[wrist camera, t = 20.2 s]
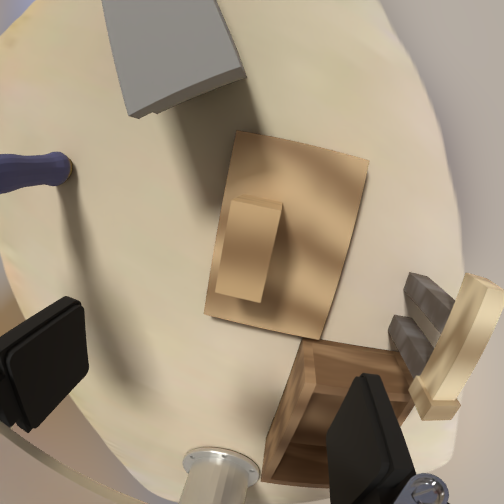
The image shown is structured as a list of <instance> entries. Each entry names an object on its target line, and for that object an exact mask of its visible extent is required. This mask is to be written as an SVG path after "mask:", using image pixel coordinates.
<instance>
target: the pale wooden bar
mask: <svg viewBox="0 0 504 504" xmlns="http://www.w3.org/2000/svg"><path fill="white" fill-rule="evenodd" d="M503 308H504V290H503V289H502V288H500V287H499V286H497V285H496V284H494V283H493V282H491V281H490V280H488V279H487V278H483V277H480V276H476V275H473V274H469V273H465V276H464V279H463V282H462V285H461V287H460V290H459V293H458V295H457V298H456V300H455V303H454V305H453V308H452V310H451V313H450V315H449V318H448V320H447V322H446V324H445V327H444V329H443V331H442V333H441V336H440V338H439V340H438V342H437V344H436V346H435V348H434V350H433V352H432V354H431V356H430V358H429V360H428V362H427V364H426V366H425V368H424V370H423V371H422V373H421V375H420V376H417V375H416V377H415V379H414V380H413V382H412V384H411V386H410V387H409V389H408V390H409V393H410V395H411V397H412V399H413V402H414V404H415V406H416V408H417V411H418V413H419V415H420V418H421V420H422V421H430V420H451V419H452V418H453V416H454V415H455V413H456V412H457V411H458V409H459V408H460V406H461V405H460V403H459V401H458V400H457V396H458V395H459V393H460V391H461V390H462V388H463V387H464V385H465V383H466V382H467V380H468V378H469V377H470V375H471V373H472V371H473V370H474V368H475V366H476V364H477V362H478V360H479V359H480V357H481V355H482V353H483V351H484V349H485V347H486V345H487V343H488V341H489V339H490V337H491V335H492V332H493V330H494V328H495V326H496V324H497V322H498V319H499V317H500V315H501V312H502V310H503Z"/></svg>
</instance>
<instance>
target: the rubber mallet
mask: <svg viewBox="0 0 504 504" xmlns="http://www.w3.org/2000/svg"><path fill="white" fill-rule="evenodd" d="M71 172H72V163H71V160H70V159H69V158H68V157H67V156H66V155H64V154H63V153H61V152H52V153H49V154H46V155H36V156H21V155H15V154H0V194H3V193H8V192H11V191H14V190H17V189H19V188H23V187H28V186H35V185H43V184H45V185H50V186H58V185H60V184H62V183H64V182H65V180H66V179H68V177H69V176H70V175H71Z"/></svg>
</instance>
